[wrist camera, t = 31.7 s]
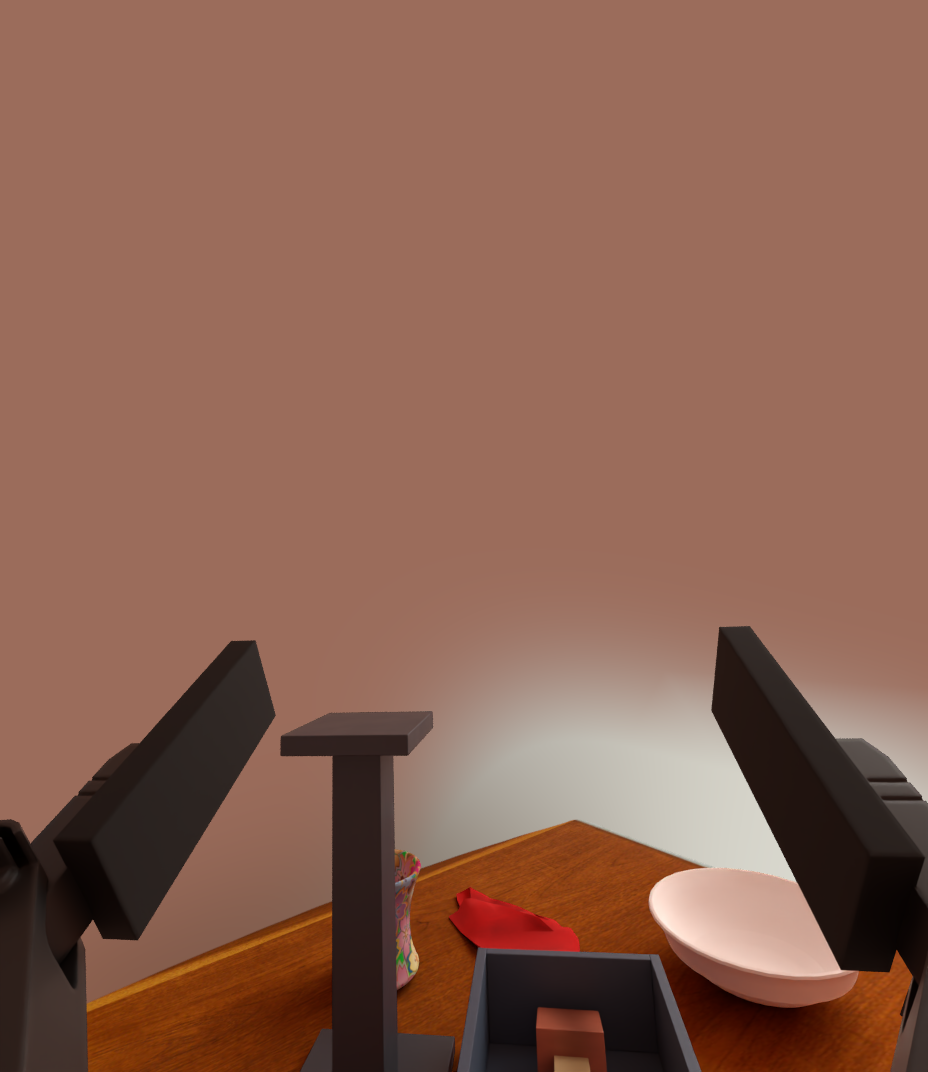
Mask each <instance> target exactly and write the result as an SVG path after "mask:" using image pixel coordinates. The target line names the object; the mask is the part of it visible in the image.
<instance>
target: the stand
mask: <svg viewBox="0 0 928 1072" xmlns="http://www.w3.org/2000/svg"><path fill="white" fill-rule="evenodd" d="M432 728H433V713H432V711H427V712H426V711H425V712H360V713H329V714H327V715H324V716H322V717H320V718H318V719H316V720H314V721H312V722H310V723H307V724H305V725H303V726H301V727H299V728H297V729H295V730H293V731H291V732H289V733H286V734H285V735H282V736H281V756H333V797H332V799H333V800H332V801H333V804H332V806H333V807H332V808H333V811H332V821H333V823H332V824H333V825H332V827H333V828H332V831H333V832H332V834H333V835H332V848H333V849H332V851H333V852H332V871H333V872H332V876H333V877H332V1029H322V1030H321V1032H320V1034H319V1035H318V1037H317V1039H316V1041H315V1043H314V1045H313V1047H312V1049H311V1051H310V1053H309V1055H308V1057H307V1059H306V1061H305V1063H304V1065H303V1067H302V1069H301V1071H300V1072H451V1071H452V1066H453V1060H454V1054H455V1037H453V1036H436V1035H419V1034H402V1033H397V975H396V908H395V845H394V844H395V841H394V775H393V756H407V755H409V754H410V753H411V751H412V750H413V749H414V748H415V747H416V746H417V745H418V744H419V742H420V741H421V740H422V739H423V738H424V737H425V736H426V734H428V733H429V732H430V730H431V729H432Z"/></svg>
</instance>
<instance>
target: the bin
mask: <svg viewBox="0 0 928 1072" xmlns="http://www.w3.org/2000/svg"><path fill="white" fill-rule="evenodd" d="M538 1007H541V1008H558V1009H575V1010H592V1011H599V1015H600V1019H601V1024H602V1028H603V1032H604V1042H605V1054H606V1066H607V1072H701V1069H700V1067H699V1064H698V1061H697V1058H696V1056H695V1053H694V1050H693V1047H692V1045H691V1042H690V1039H689V1037H688V1034H687V1031H686V1028H685V1026H684V1023H683V1020H682V1018H681V1015H680V1012H679V1009H678V1007H677V1004H676V1001H675V998H674V996H673V993H672V990H671V988H670V985H669V982H668V979H667V977H666V974H665V971H664V968H663V966H662V963H661V960H660V958H659V955H654V954H649V955H648V954H623V953H597V952H571V951H546V950H520V949H494V948H478V951H477V957H476V963H475V968H474V974H473V980H472V986H471V992H470V998H469V1004H468V1010H467V1016H466V1022H465V1028H464V1034H463V1040H462V1045H461V1051H460V1057H459V1063H458V1069H457V1072H538V1069H537V1043H536V1021H537V1008H538Z"/></svg>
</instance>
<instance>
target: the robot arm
mask: <svg viewBox="0 0 928 1072" xmlns="http://www.w3.org/2000/svg"><path fill="white" fill-rule="evenodd" d="M712 713H713V714H714V717H715V719H716V721H717V723H718V725H719V727H720V729H721V731H722V733H723V735H724V737H725V739H726V741H727V743H728V745H729V747H730V749H731V750H732V753H733V755H734V757H735V759H736V761H737V763H738V765H739V767H740V769H741V771H742V773H743V775H744V777H745V779H746V781H747V783H748V785H749V787H750V789H751V791H752V793H753V795H754V797H755V799H756V801H757V803H758V805H759V807H760V809H761V811H762V813H763V815H764V817H765V819H766V821H767V823H768V825H769V827H770V829H771V831H772V833H773V835H774V837H775V839H776V841H777V843H778V845H779V847H780V848H781V851H782V853H783V855H784V857H785V859H786V861H787V863H788V865H789V867H790V869H791V871H792V873H793V875H794V877H795V879H796V881H797V883H798V885H799V887H800V889H801V891H802V893H803V895H804V897H805V899H806V901H807V903H808V905H809V907H810V909H811V911H812V913H813V915H814V917H815V919H816V921H817V923H818V925H819V927H820V929H821V931H822V933H823V935H824V937H825V939H826V941H827V943H828V945H829V947H830V949H831V951H832V953H833V955H834V957H835V959H836V961H837V963H838V965H839V967H840V969H841V970H847V971H871V972H890V969H891V966H892V962H893V959H894V956H895V953H896V950H897V951H898V952H899V954H900V956H901V957H902V959H903V961H904V962H905V964H906V966H907V967H908V969H909V971H910V972H911V974H912V975H913V978H912V981H911V984H910V987H909V990H908V992H907V995H906V998H905V1001H904V1004H903V1007H902V1010H901V1013H900V1015H901V1016H903V1018H902V1022H901V1027H900V1031H899V1036H898V1040H897V1045H896V1049H895V1054H894V1058H893V1063H892V1067H891V1072H928V803H927V802H926V801H923V800H922V796H921V795H920V794H919V792H918V791H917V790H916V789H915V788H914V787H913V785H912V784H911V783H908V782H907V778H906V777H905V776H904V775H903V773H902V772H901V771H900V770H899V769H898V768H897V766H896V765H895V764H894V763H893V762H892V761H891V759H890V758H889V757H888V756H886V755H885V754H883V753H882V752H881V751H879V750H878V749H876V748H875V747H874V746H872V745H871V744H869V743H868V742H866V741H865V740H864V739H861V738H860V739H835V738H834V736H833V735H832V734H831V733H830V731H829V730H828V729H827V727H826V726H825V725H824V723H823V722H822V721H821V719H820V718H819V717H818V715H817V714H816V713H815V711H814V710H813V709H812V708H811V706H810V705H809V704H808V703H807V701H806V700H805V699H804V697H803V696H802V694H801V693H800V692H799V690H798V689H797V688H796V687H795V685H794V684H793V683H792V681H791V680H790V679H789V678H788V676H787V675H786V673H785V672H784V671H783V670H782V668H781V667H780V666H779V664H778V663H777V662H776V660H775V659H774V658H773V656H772V655H771V654H770V653H769V651H768V650H767V648H766V647H765V646H764V645H763V643H762V642H761V641H760V639H759V638H758V637H757V635H756V634H755V633H754V631H753V630H752V629H751V627H750V626H744V627H743V626H741V627H719V637H718V647H717V658H716V668H715V680H714V689H713V700H712ZM274 717H275V711H274V708H273V704H272V700H271V696H270V693H269V689H268V685H267V682H266V678H265V674H264V671H263V667H262V663H261V659H260V656H259V652H258V648H257V645H256V641H231V642H230V643H229V644H228V645H227V646H226V647H225V649H224V650H223V651H222V652H221V653H220V654H219V655H218V656H217V658H216V659H215V660H214V661H213V662H212V663H211V664H210V665H209V666H208V668H207V669H206V670H205V671H204V672H203V673H202V674H201V675H200V677H199V678H198V679H197V680H196V681H195V682H194V683H193V684H192V685H191V687H190V688H189V689H188V690H187V691H186V692H185V693H184V694H183V695H182V697H181V698H180V699H179V700H178V701H177V702H176V703H175V705H174V706H173V707H172V708H171V709H170V710H169V711H168V712H167V713H166V714H165V716H164V717H163V718H162V719H161V720H160V721H159V722H158V723H157V725H156V726H155V727H154V728H153V729H152V730H151V731H150V732H149V733H148V735H147V736H146V737H145V738H144V739H143V740H142V741H141V743H134V744H130V745H129V746H127V747H126V748H124V749H123V750H122V751H120V752H119V753H117V754H116V755H115V756H113V757H112V758H111V759H109V760H108V761H107V762H106V763H105V764H104V765H103V766H102V768H100V770H99V771H98V772H97V773H96V774H95V775H94V776H93V777H92V778H93V779H92V781H88V782H87V784H86V785H85V786H84V787H83V788H82V789H81V790H80V791H79V794H78V796H75V797H73V799H72V800H71V801H70V802H69V803H68V804H67V805H66V806H65V807H64V808H63V809H62V810H61V811H60V813H59V814H58V815H57V816H56V817H55V818H54V819H53V820H52V821H51V822H50V823H49V824H48V825H47V826H46V828H45V829H44V830H43V831H42V832H41V833H40V834H39V835H38V836H37V837H36V838H35V839H34V840H33V842H32V843H31V844H30V842H29V840H28V838H27V837H26V835H25V833H24V831H23V829H22V827H21V825H20V824H19V823H18V822H16V821H14V820H11V819H10V820H0V1072H88V1057H87V1010H86V963H85V948H84V945H83V942H82V940H81V938H80V937H81V935H82V934H83V933H84V931H85V930H86V928H87V927H88V926H89V924H90V923H91V921H92V920H94V922H95V924H96V926H97V928H98V930H99V932H100V934H101V936H102V938H103V939H121V940H138V939H139V938H140V936H141V934H142V933H143V931H144V929H145V928H146V926H147V924H148V923H149V921H150V920H151V918H152V916H153V915H154V913H155V911H156V910H157V908H158V907H159V905H160V903H161V901H162V900H163V898H164V897H165V895H166V893H167V892H168V890H169V888H170V887H171V885H172V884H173V882H174V880H175V879H176V877H177V876H178V874H179V872H180V871H181V869H182V867H183V866H184V864H185V862H186V861H187V859H188V858H189V856H190V854H191V853H192V851H193V849H194V847H195V846H196V844H197V843H198V841H199V840H200V838H201V836H202V835H203V833H204V831H205V830H206V828H207V827H208V824H209V823H210V822H211V820H212V818H213V817H214V815H215V814H216V812H217V810H218V809H219V807H220V805H221V804H222V802H223V800H224V799H225V797H226V796H227V794H228V792H229V791H230V789H231V787H232V786H233V784H234V782H235V781H236V779H237V778H238V776H239V774H240V773H241V771H242V769H243V768H244V766H245V765H246V763H247V761H248V760H249V758H250V756H251V755H252V753H253V752H254V750H255V748H256V747H257V745H258V743H259V742H260V740H261V738H262V737H263V735H264V733H265V732H266V730H267V729H268V727H269V725H270V724H271V722H272V720H273V719H274Z"/></svg>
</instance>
